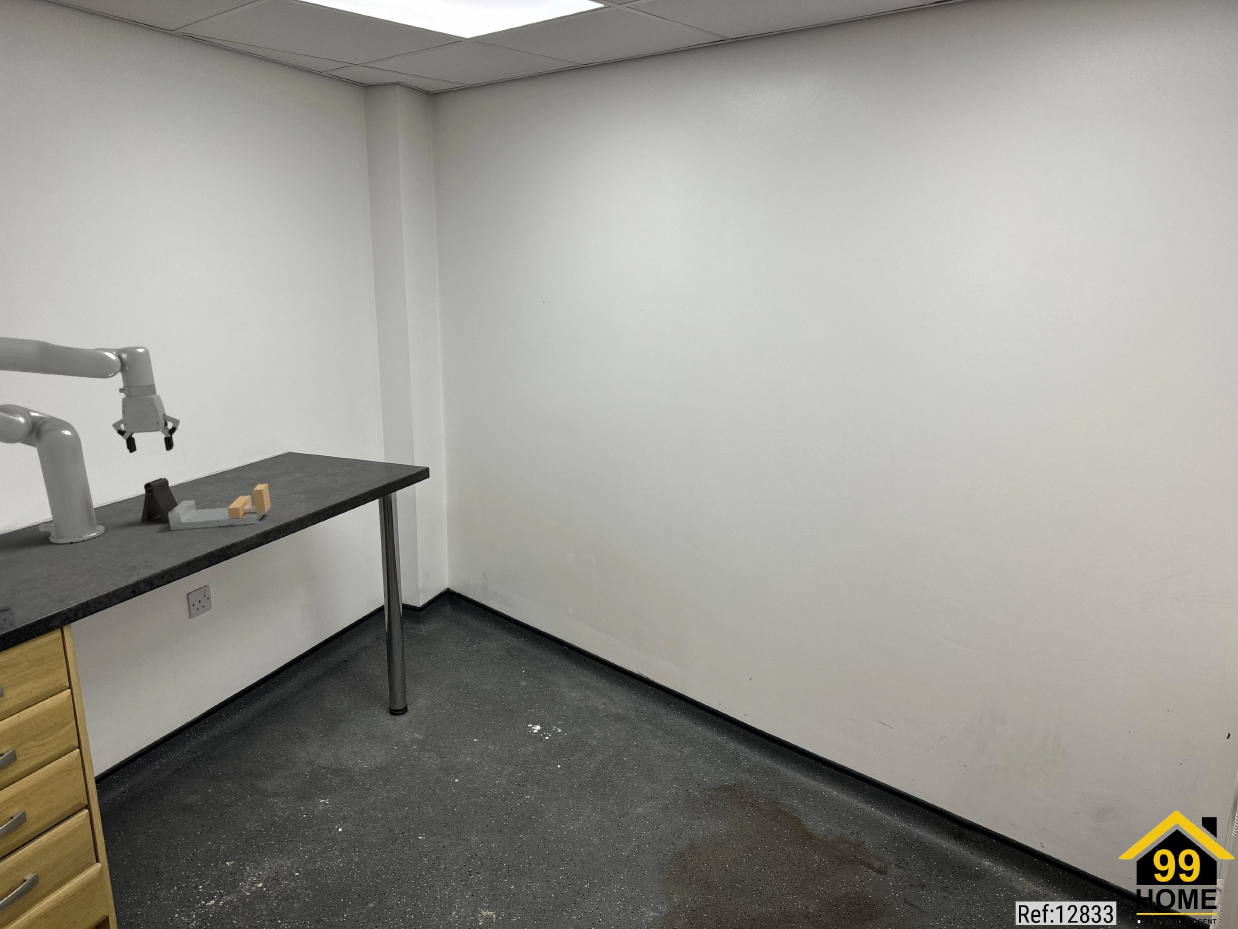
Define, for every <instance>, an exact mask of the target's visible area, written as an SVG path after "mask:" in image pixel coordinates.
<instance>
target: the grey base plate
mask: <svg viewBox="0 0 1238 929" xmlns="http://www.w3.org/2000/svg"><path fill="white" fill-rule="evenodd" d="M265 514H266V513H256V512H249V513H244V514H243V515H242V516H241V518H229V514H228V507H218V508H204V509H196V510H195V511H194V512H193V513H192V514H191V515H190V516H188V517H187V518H186V519H185V520H184V521H183V522H182V523H169V527H170V531H177V530H178V531H179V530H193V529H205V527H207V528H219V526H221V527H230V525H234V526H243V524H247V525H256V524H258V523H259V522H260V521H261V519H262V518H263V517H264V516H265ZM263 515H264V516H263ZM257 522H258V523H257Z"/></svg>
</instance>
